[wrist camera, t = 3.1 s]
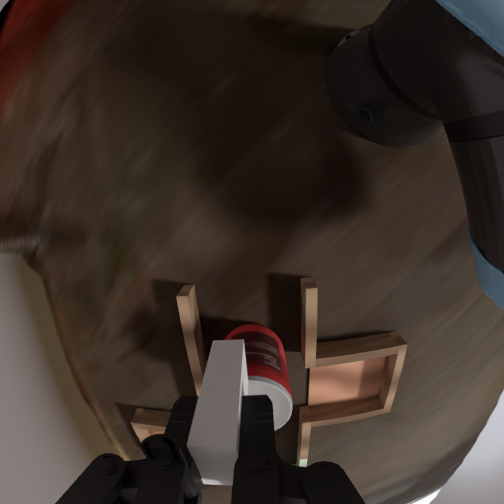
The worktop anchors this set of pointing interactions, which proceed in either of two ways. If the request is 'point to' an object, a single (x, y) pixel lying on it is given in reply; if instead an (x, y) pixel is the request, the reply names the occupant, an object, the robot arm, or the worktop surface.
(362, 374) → the channel
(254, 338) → the canned food
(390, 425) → the worktop surface
